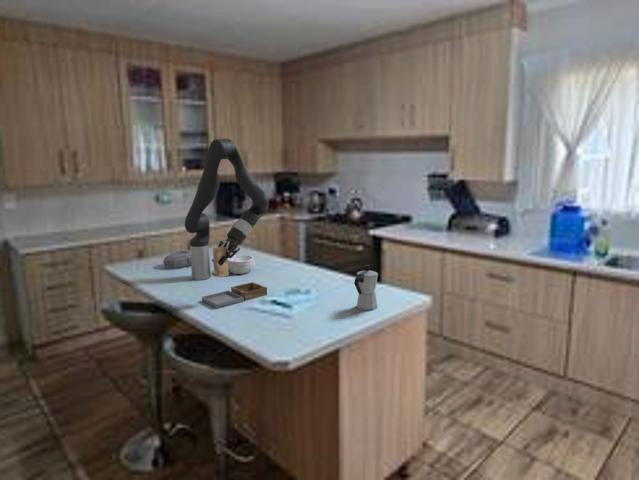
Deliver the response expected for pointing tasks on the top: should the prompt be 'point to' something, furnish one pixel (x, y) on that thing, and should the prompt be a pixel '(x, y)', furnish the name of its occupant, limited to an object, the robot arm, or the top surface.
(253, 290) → the square wooden frame
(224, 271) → the oak peg
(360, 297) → the coffee maker
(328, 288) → the top surface
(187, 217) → the robot arm
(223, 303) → the tray
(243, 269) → the paper bowls
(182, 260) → the grey rounded bag
